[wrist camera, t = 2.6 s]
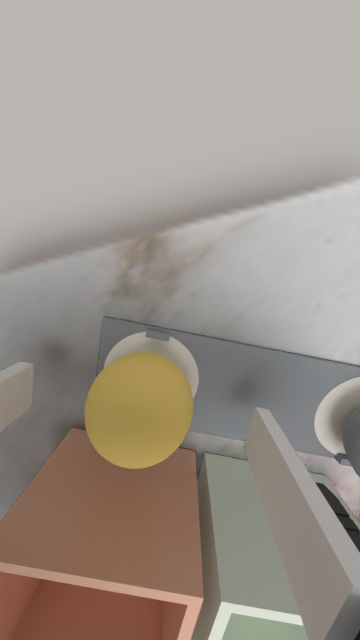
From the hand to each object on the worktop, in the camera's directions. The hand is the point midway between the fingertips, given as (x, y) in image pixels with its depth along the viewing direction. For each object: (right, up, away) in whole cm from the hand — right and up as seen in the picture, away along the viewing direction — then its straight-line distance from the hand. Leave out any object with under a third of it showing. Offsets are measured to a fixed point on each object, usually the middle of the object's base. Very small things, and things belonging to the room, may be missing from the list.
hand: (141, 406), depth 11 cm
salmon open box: (-3, -10, +6) cm, 12 cm away
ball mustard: (0, 0, 0) cm, 0 cm away
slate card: (+8, -1, +4) cm, 9 cm away
